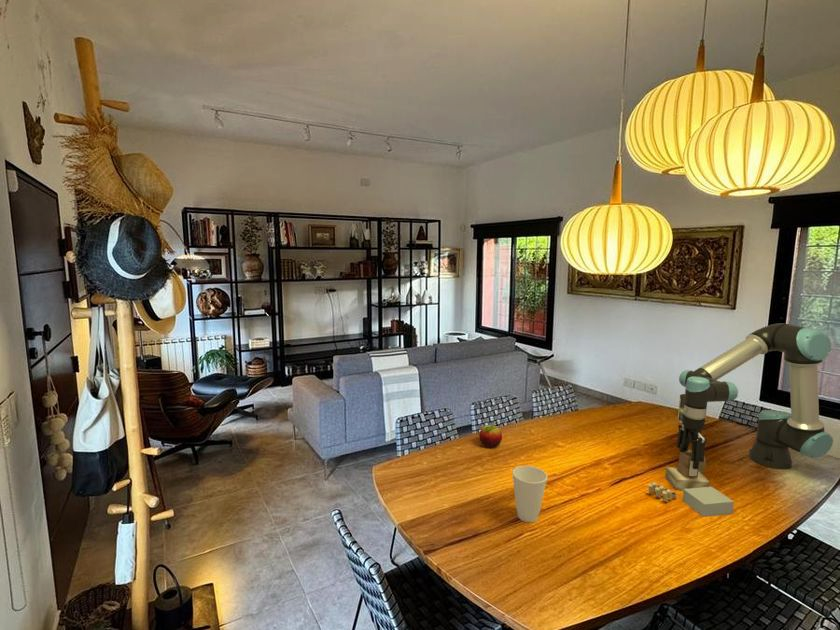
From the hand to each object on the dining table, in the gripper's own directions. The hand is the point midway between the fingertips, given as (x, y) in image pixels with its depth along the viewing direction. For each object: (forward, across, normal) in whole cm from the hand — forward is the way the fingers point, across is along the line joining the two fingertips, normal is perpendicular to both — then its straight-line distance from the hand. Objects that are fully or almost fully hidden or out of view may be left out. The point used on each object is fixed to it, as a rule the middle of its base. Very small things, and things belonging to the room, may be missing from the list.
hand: (687, 471), depth 177 cm
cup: (+6, +19, -70) cm, 73 cm away
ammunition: (+6, +8, -15) cm, 18 cm away
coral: (+6, -13, +11) cm, 18 cm away
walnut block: (+1, 0, 0) cm, 1 cm away
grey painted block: (+6, +15, -2) cm, 16 cm away
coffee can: (+6, -64, +43) cm, 77 cm away
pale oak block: (+6, 0, 0) cm, 6 cm away
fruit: (+6, -37, -72) cm, 81 cm away
